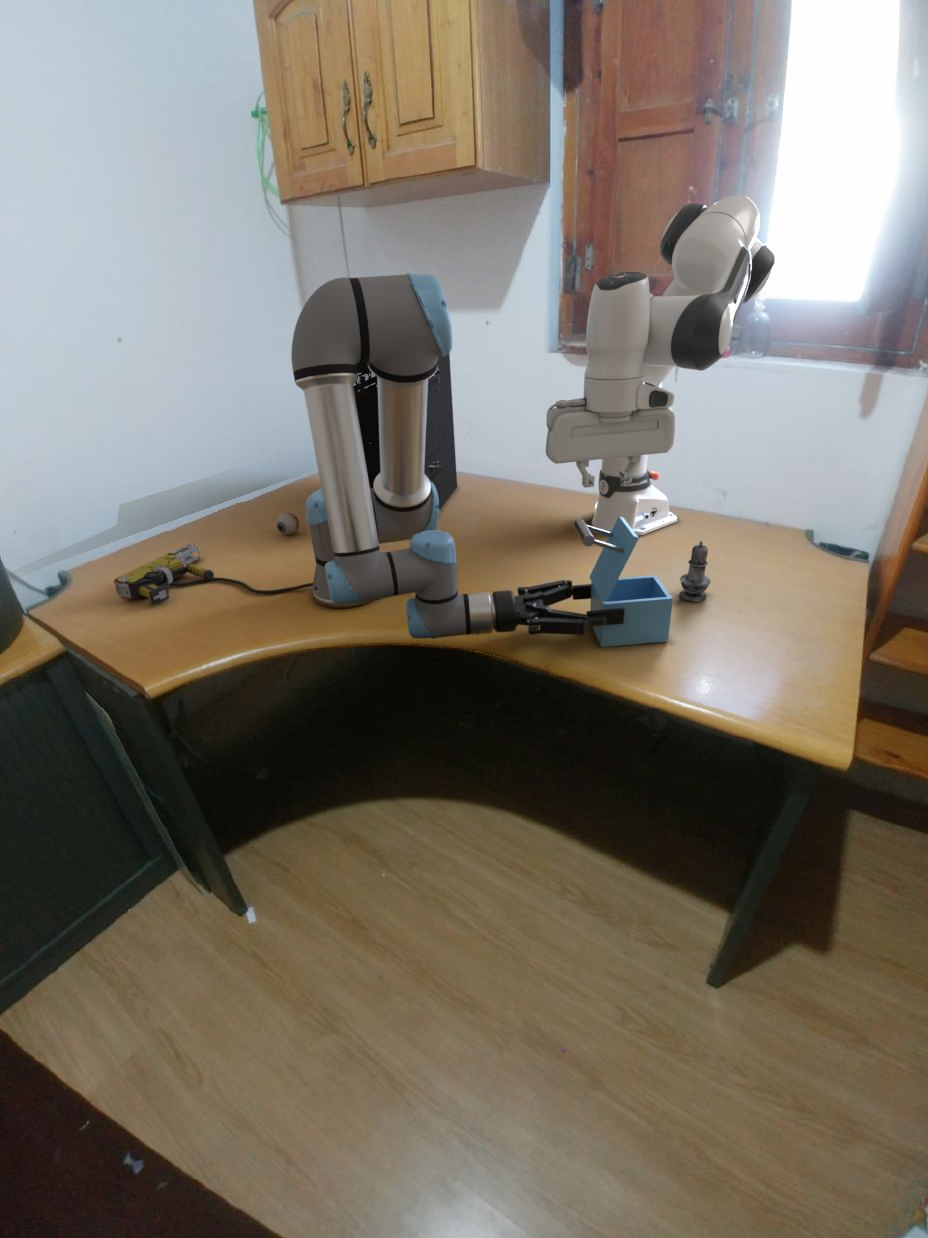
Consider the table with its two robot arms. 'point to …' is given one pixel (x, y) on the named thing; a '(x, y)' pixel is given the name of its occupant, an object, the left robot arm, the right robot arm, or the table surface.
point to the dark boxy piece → (437, 428)
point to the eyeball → (287, 523)
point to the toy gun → (160, 575)
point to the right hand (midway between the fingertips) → (606, 484)
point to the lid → (608, 553)
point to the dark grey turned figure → (696, 576)
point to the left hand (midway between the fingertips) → (614, 602)
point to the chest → (635, 612)
